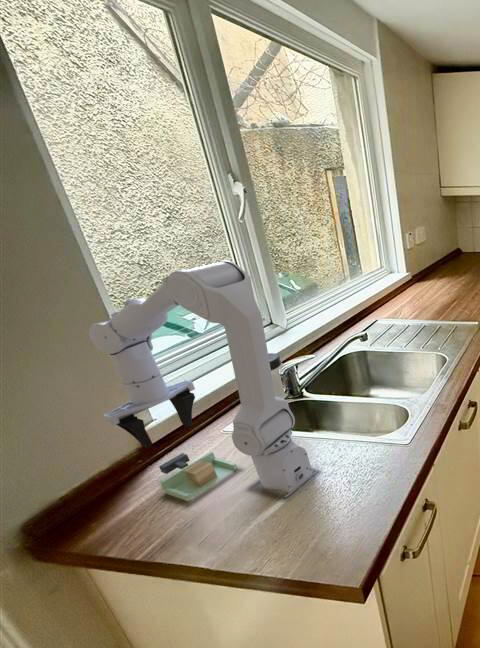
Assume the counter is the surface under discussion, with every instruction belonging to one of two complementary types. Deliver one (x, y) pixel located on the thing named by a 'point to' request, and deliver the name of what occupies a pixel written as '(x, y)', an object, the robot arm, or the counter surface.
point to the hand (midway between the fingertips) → (168, 435)
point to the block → (200, 473)
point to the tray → (179, 482)
